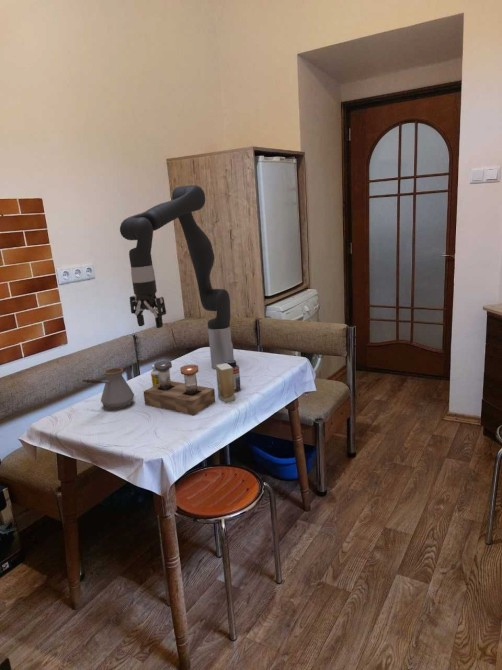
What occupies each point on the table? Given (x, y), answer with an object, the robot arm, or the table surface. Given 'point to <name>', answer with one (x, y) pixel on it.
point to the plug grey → (164, 374)
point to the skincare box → (225, 382)
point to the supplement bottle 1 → (154, 376)
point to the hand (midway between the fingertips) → (150, 326)
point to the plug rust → (190, 379)
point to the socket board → (179, 398)
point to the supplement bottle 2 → (235, 374)
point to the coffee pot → (114, 389)
